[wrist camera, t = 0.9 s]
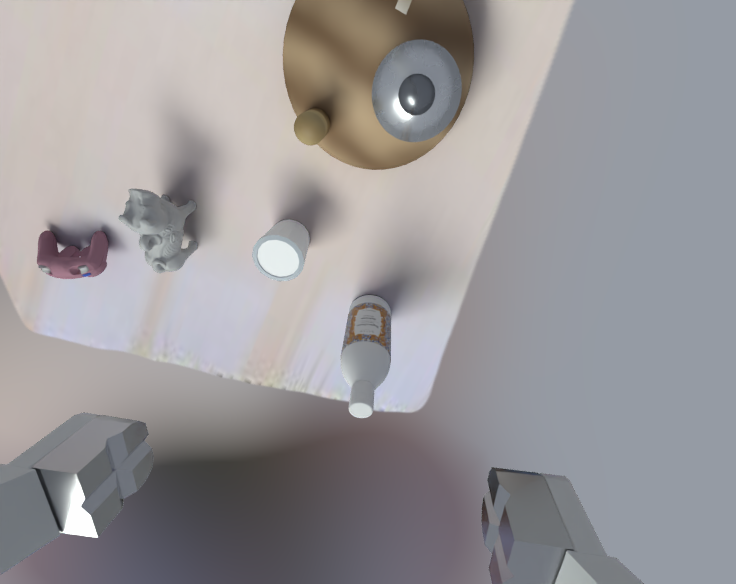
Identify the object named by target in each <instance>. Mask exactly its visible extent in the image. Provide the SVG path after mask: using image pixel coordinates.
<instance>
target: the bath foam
mask: <svg viewBox="0 0 736 584" xmlns="http://www.w3.org/2000/svg"><path fill="white" fill-rule="evenodd" d="M390 363H391V310H390V307H389V305H388V304H387V302H386V301H385V300H383V299H382V298H380V297H378V296H374V295H365V296H361V297H359V298H357V299H356V300H354V301H353V303H352V304H351V306H350V309H349V314H348V319H347V325H346V331H345V336H344V342H343V347H342V353H341V370H342V374H343V376H344V378H345V380H346V381H347V383H348V384H349V386H350V387H351V394H350V402H349V412H350V413H351V414H352V415H353V416H355V417H358V418H366V417H368V416H370V415H371V414H372V412H373V405H374V390H375V389H376V388H377V387H378V386H379V385H380V384H381V383H382V382H383V381H384V380H385V378H386V376H387V374H388V372H389V368H390Z"/></svg>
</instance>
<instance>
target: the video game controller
mask: <svg viewBox="0 0 736 584" xmlns="http://www.w3.org/2000/svg"><path fill="white" fill-rule="evenodd" d="M107 253H108V241H107V237H106V235H105V233H104V232H102V231H97V232H95V233H94V235H93V237H92V239H91V245H90V246H88V247H86V248H84V249H83V250H82V251H80V250H79V249H77V248H76V247H74V246H69V247H66V248H65V249H64V250H62V251H61V252H60V253H59V252H58V248H57V241H56V238H55V236H54V234H53V233H52V232H51V231H44V232H43V233H41V235H40V237H39V241H38V256H37V264H38V265H39V268H41V270H42V271H43V272H45V273H46V274H48V275H50V276H53V277H56V278H61V279H75V278H81V277H86V276H88V277H94V276H97V275H99V274H101V273H102V272H103V271H104V270H105V268H106V266H107V262H106V259H107ZM80 256H81V257H80Z"/></svg>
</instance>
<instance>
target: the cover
mask: <svg viewBox="0 0 736 584" xmlns="http://www.w3.org/2000/svg"><path fill="white" fill-rule="evenodd" d="M461 92H462V82H461V75H460V72H459V68H458V66H457V64H456V62H455V60H454V58H453V57H452V56H451V54H450V53H449V52H448V51H447V50H446V49H445V48H444V47H442V46H441V45H439V44H437V43H435V42H432V41H429V40H422V39H420V40H411V41H407V42H405V43H402V44H400V45H399V46H397V47H395V48H394V49H393V50H391V51H390V52H389V53H388V54H387V55H386V57H385V58H384V59H383V60H382V62H381V63H380V65H379V67H378V69H377V71H376V74H375V77H374V80H373V85H372V104H373V109H374V112H375V115H376V117H377V119H378V121H379V123H380V124H381V126H382V127H383V128H384V129H385V130H386V131H387V132H388V133H389V134H390V135H392V136H393V137H395V138H397V139H399V140H402V141H406V142H421V141H425V140H428V139H430V138H433V137H434V136H436V135H438V134H439V133H440V132H442V131H443V130H444V129H445V128H446V127H447V126H448V125H449V123H450V122H451V121H452V119H453V117H454V116H455V114H456V111H457V109H458V106H459V103H460V99H461Z"/></svg>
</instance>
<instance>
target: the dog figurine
mask: <svg viewBox="0 0 736 584" xmlns="http://www.w3.org/2000/svg"><path fill="white" fill-rule="evenodd" d="M128 191H129V194H130V198H129V200H128V201H127V202H126V208H125V211H124V214H123V215H120V216H119V221H121V222H122V223H124V224H126V225H127V226H128V227H129V228H130V229H131V230H133V231H134V232H137V233H139V234H140V235H141V237H140V241H139V246H140V248H141V249H142V250H144V251H145V259H146V262H147V263H148V264H149V265H150V266H152V268H153V270H154V271H155V272H157V273H162V272H165V271H168V272H173V271H177V270H179V269H180V268H181V267H182V266H183V264H184V262H185V260H186V259H187V258H188V257H189V256H190V255H191V254H192V253H193V252H194V251H195V250H196V249H197V248H198V245H197V243H196V242H193V241H189V245H188V248H186V249H181V245H182V236H183V233H184V230H183V226H184V224H185V218H186V217H187V216H188V215H189V214H190V213H192V212H193V211H194V210H195V209H196V203H195V202H194V201H191V200H190V201H188V203H187V204H186V205H183V206H180V207H176V206H175V205H174V204H172V203H170V199H169V198H168V197H167V196H165V195H162V196H161V198H160V197H159V196H158V195H156V194H154V193H153V192H151V191H147V190H142V189H129V190H128Z"/></svg>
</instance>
